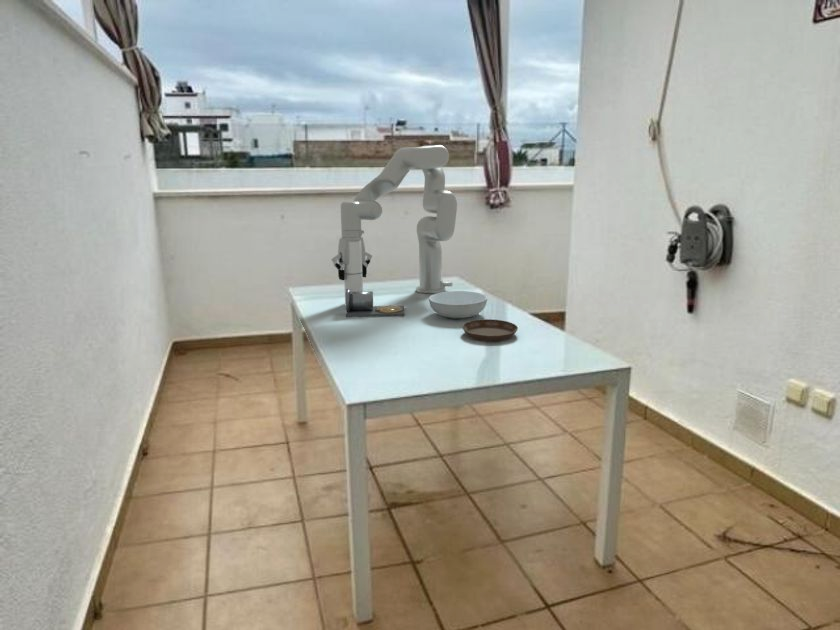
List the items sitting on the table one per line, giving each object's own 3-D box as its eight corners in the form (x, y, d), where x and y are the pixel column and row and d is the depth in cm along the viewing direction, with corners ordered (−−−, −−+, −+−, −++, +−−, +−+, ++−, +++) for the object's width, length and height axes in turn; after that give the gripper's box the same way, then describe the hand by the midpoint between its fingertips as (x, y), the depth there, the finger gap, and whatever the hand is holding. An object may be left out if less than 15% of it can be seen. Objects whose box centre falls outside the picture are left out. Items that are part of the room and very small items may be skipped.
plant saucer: (516, 345, 180) (517, 335, 179) (459, 342, 183) (459, 333, 182) (518, 329, 197) (518, 320, 196) (465, 327, 200) (465, 318, 199)
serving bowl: (423, 310, 222) (423, 292, 220) (477, 307, 226) (477, 289, 224) (436, 325, 202) (436, 305, 200) (494, 321, 206) (495, 301, 204)
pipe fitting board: (404, 308, 225) (403, 285, 223) (404, 316, 213) (403, 291, 211) (348, 309, 225) (347, 285, 222) (345, 317, 213) (344, 292, 211)
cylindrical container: (356, 307, 228) (353, 242, 221) (341, 304, 231) (338, 241, 225) (367, 303, 233) (365, 240, 227) (352, 301, 237) (350, 238, 231)
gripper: (365, 231, 233) (366, 274, 237) (326, 234, 223) (328, 279, 227) (375, 233, 227) (376, 277, 232) (336, 236, 217) (337, 282, 222)
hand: (352, 278), depth 230 cm, fingers open, 9 cm apart
